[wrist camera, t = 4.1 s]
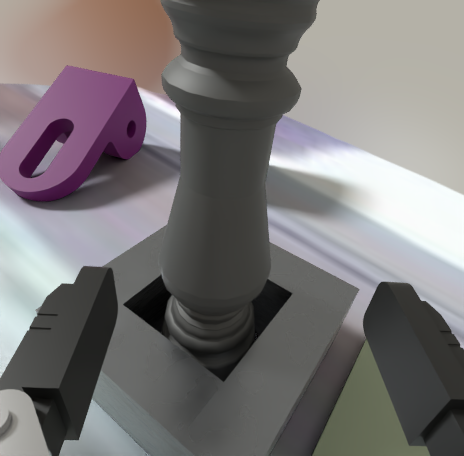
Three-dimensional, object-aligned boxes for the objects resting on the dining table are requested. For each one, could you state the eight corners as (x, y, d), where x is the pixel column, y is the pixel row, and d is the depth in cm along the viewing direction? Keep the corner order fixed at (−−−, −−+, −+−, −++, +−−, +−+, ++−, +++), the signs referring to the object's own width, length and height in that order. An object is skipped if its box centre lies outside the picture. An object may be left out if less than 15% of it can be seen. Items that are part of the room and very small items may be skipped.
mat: (553, 663, 15) (563, 664, 14) (306, 466, 20) (308, 463, 19) (545, 427, 23) (551, 423, 22) (370, 328, 28) (373, 324, 27)
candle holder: (149, 383, 23) (82, -225, 7) (178, 309, 27) (179, -148, 12) (241, 405, 22) (395, -199, 6) (254, 326, 27) (361, -130, 11)
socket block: (226, 531, 17) (240, 498, 13) (59, 365, 23) (35, 310, 19) (333, 340, 26) (359, 289, 23) (195, 256, 32) (198, 204, 28)
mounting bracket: (91, 237, 42) (151, 128, 49) (56, 201, 34) (134, 79, 41) (25, 217, 43) (93, 114, 51) (-22, 179, 36) (66, 65, 43)
